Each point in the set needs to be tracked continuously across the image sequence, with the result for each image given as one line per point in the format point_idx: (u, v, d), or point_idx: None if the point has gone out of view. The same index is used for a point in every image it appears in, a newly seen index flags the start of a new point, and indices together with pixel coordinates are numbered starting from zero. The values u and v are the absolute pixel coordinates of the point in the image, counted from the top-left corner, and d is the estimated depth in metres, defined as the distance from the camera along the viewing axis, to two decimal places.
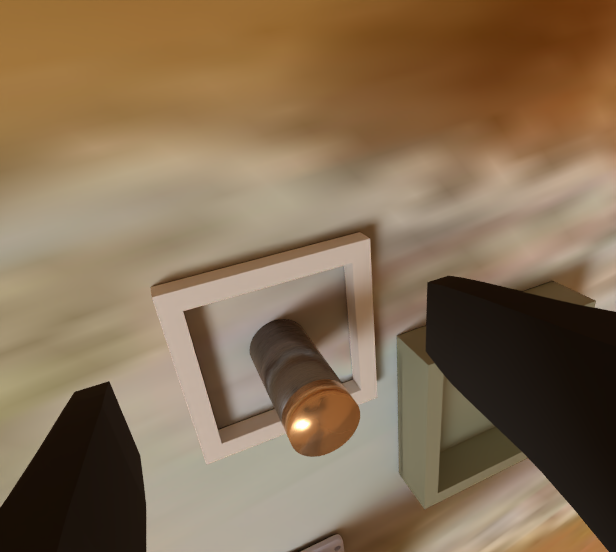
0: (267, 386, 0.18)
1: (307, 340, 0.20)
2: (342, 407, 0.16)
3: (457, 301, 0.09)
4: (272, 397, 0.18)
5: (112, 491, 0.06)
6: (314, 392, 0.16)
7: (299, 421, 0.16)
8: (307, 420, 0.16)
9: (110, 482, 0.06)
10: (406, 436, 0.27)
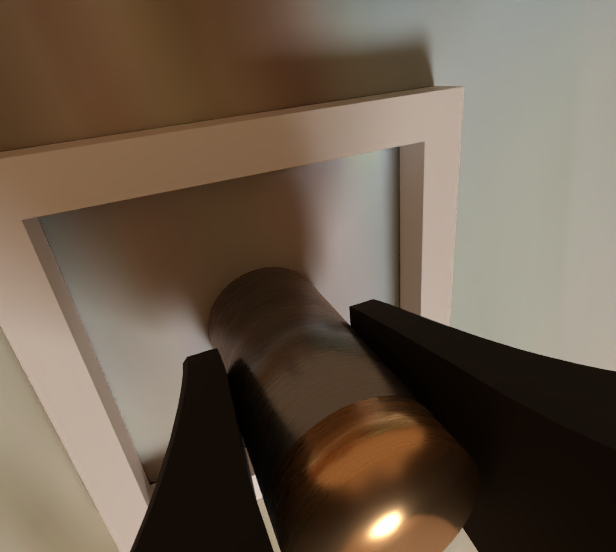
0: None
1: (233, 339, 0.09)
2: (346, 515, 0.05)
3: (373, 329, 0.08)
4: None
5: (241, 441, 0.07)
6: None
7: None
8: None
9: (239, 433, 0.07)
10: None
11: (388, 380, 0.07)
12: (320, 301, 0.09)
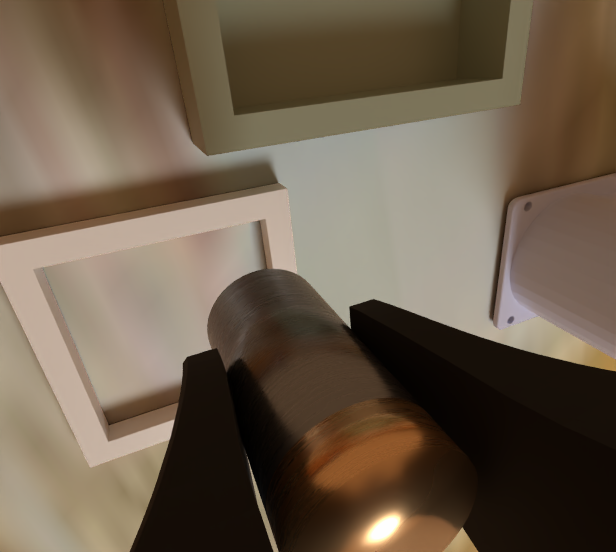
0: None
1: (233, 340, 0.09)
2: (345, 516, 0.05)
3: (373, 329, 0.08)
4: None
5: (241, 441, 0.07)
6: None
7: None
8: None
9: (239, 433, 0.07)
10: None
11: (387, 382, 0.07)
12: (319, 303, 0.09)
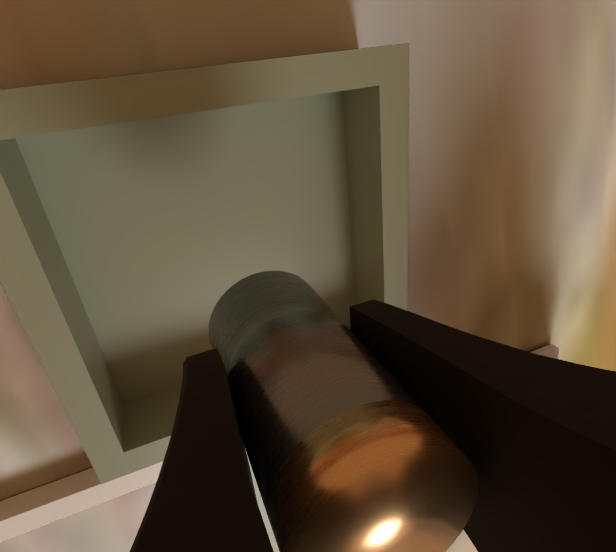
0: None
1: (237, 337, 0.09)
2: (351, 515, 0.05)
3: (372, 329, 0.08)
4: None
5: (241, 441, 0.07)
6: None
7: None
8: None
9: (239, 433, 0.07)
10: None
11: (393, 386, 0.07)
12: (324, 306, 0.09)
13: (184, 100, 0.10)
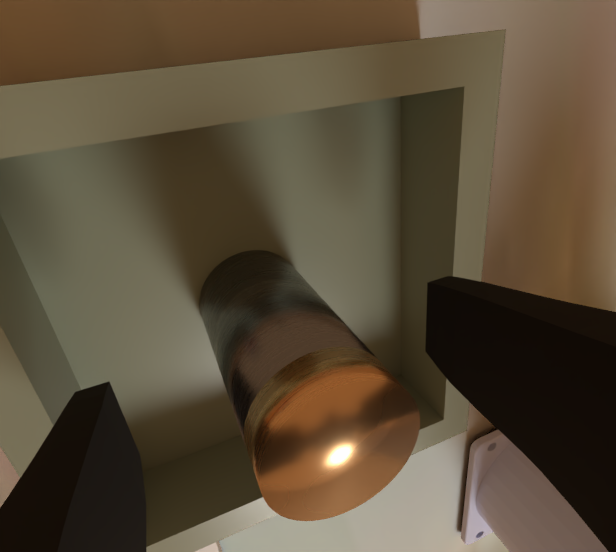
0: None
1: (223, 305, 0.10)
2: (308, 432, 0.07)
3: (457, 301, 0.09)
4: None
5: (112, 491, 0.06)
6: None
7: (303, 511, 0.07)
8: (310, 496, 0.07)
9: (110, 482, 0.06)
10: None
11: (351, 338, 0.08)
12: (300, 279, 0.10)
13: (208, 108, 0.07)
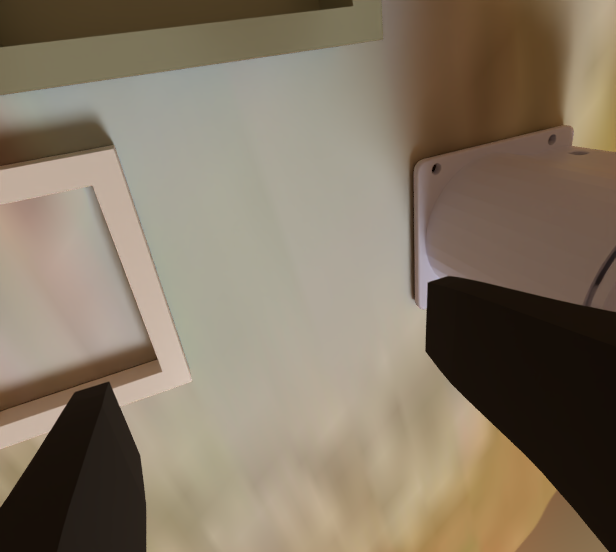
0: None
1: None
2: None
3: (457, 301, 0.09)
4: None
5: (112, 491, 0.06)
6: None
7: None
8: None
9: (110, 482, 0.06)
10: None
11: None
12: None
13: None
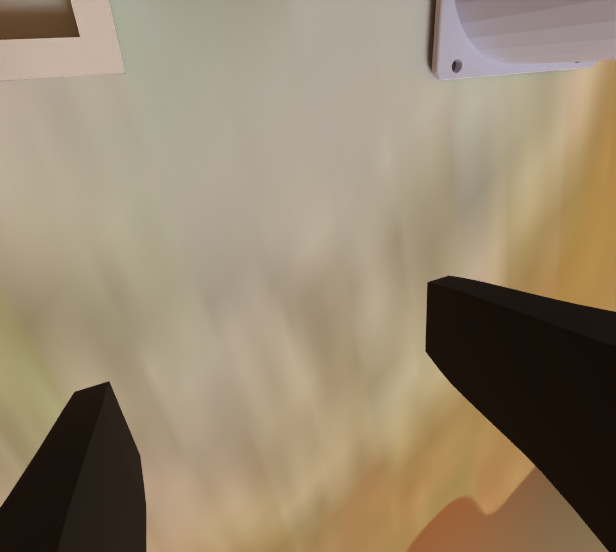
0: None
1: None
2: None
3: (457, 301, 0.09)
4: None
5: (112, 491, 0.06)
6: None
7: None
8: None
9: (110, 482, 0.06)
10: None
11: None
12: None
13: None
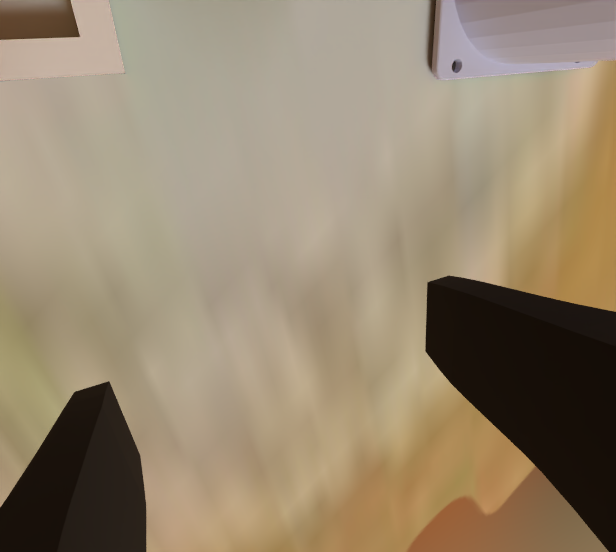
0: None
1: None
2: None
3: (457, 301, 0.09)
4: None
5: (112, 491, 0.06)
6: None
7: None
8: None
9: (110, 482, 0.06)
10: None
11: None
12: None
13: None
